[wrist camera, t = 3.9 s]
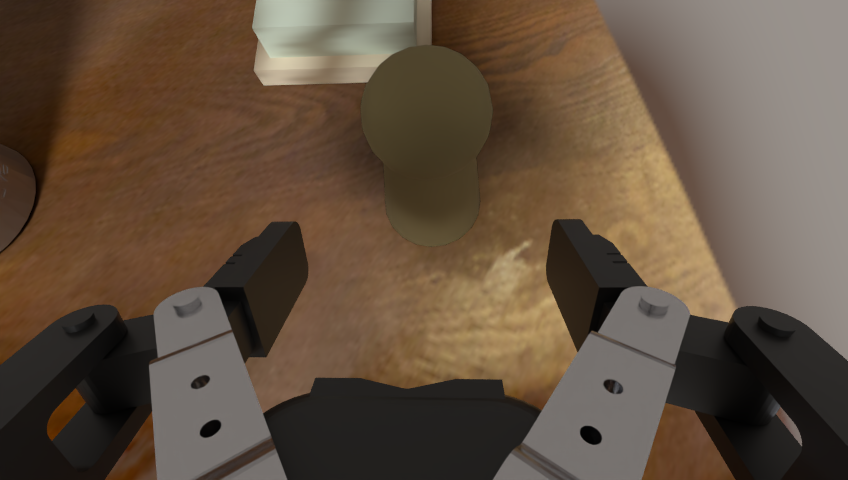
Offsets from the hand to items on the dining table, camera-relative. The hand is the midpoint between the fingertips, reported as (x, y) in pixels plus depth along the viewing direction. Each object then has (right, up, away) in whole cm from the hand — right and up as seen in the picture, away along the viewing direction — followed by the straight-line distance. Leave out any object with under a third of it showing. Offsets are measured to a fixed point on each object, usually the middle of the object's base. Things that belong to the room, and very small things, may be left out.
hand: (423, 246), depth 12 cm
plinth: (-5, +17, +16) cm, 24 cm away
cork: (+1, +3, +12) cm, 12 cm away
